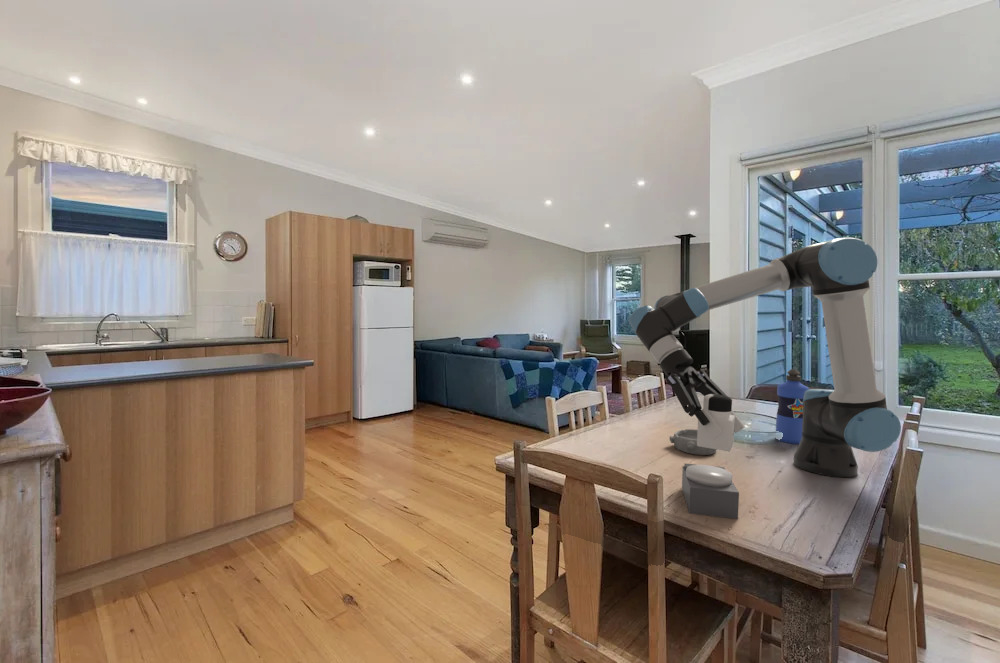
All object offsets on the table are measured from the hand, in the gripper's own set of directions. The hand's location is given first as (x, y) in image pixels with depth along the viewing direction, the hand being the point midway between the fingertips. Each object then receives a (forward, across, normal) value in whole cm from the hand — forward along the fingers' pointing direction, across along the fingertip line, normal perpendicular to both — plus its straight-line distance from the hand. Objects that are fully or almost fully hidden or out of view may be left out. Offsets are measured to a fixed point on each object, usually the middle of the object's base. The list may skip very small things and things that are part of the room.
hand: (729, 432), depth 104 cm
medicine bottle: (+1, 0, -5) cm, 5 cm away
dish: (-7, -34, -33) cm, 48 cm away
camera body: (+10, +1, -15) cm, 18 cm away
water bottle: (+2, -71, -23) cm, 75 cm away
